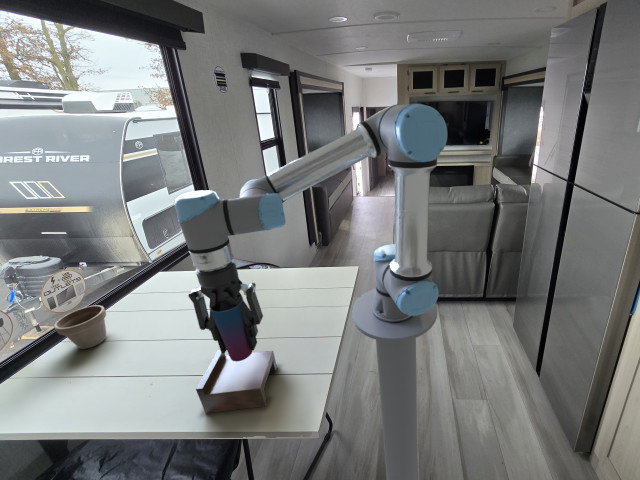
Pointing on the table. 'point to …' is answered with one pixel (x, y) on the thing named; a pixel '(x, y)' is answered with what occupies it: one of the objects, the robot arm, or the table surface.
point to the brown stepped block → (235, 382)
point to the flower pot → (84, 326)
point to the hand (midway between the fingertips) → (239, 347)
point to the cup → (232, 330)
